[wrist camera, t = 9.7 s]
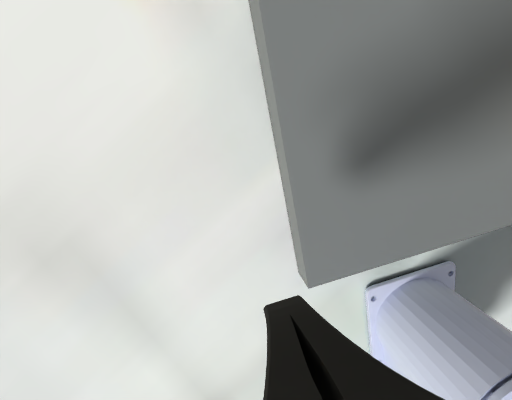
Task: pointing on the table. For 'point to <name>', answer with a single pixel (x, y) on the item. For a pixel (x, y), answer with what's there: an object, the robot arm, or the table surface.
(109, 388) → the table surface
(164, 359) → the table surface
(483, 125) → the trap board
